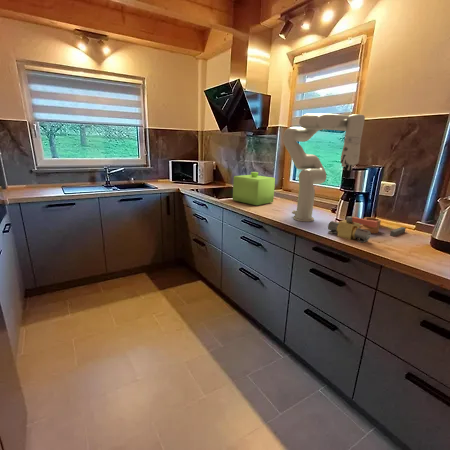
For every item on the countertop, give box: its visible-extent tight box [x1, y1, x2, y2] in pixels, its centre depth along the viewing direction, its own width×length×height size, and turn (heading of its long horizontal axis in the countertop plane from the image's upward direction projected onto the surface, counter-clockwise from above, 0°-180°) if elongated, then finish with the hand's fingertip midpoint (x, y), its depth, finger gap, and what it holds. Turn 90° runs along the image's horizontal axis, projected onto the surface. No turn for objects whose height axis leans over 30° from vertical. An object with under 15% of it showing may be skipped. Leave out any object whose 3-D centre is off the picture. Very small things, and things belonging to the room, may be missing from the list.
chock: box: [389, 226, 407, 237], centre depth 148 cm, size 2×14×2 cm, turn 127°
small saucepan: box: [359, 216, 382, 234], centre depth 150 cm, size 18×8×7 cm, turn 102°
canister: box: [232, 171, 276, 206], centre depth 218 cm, size 25×21×23 cm
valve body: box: [327, 219, 372, 244], centre depth 139 cm, size 20×7×8 cm, turn 37°
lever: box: [345, 216, 378, 228], centre depth 133 cm, size 14×4×3 cm, turn 39°
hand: (346, 177), depth 142 cm, fingers closed
